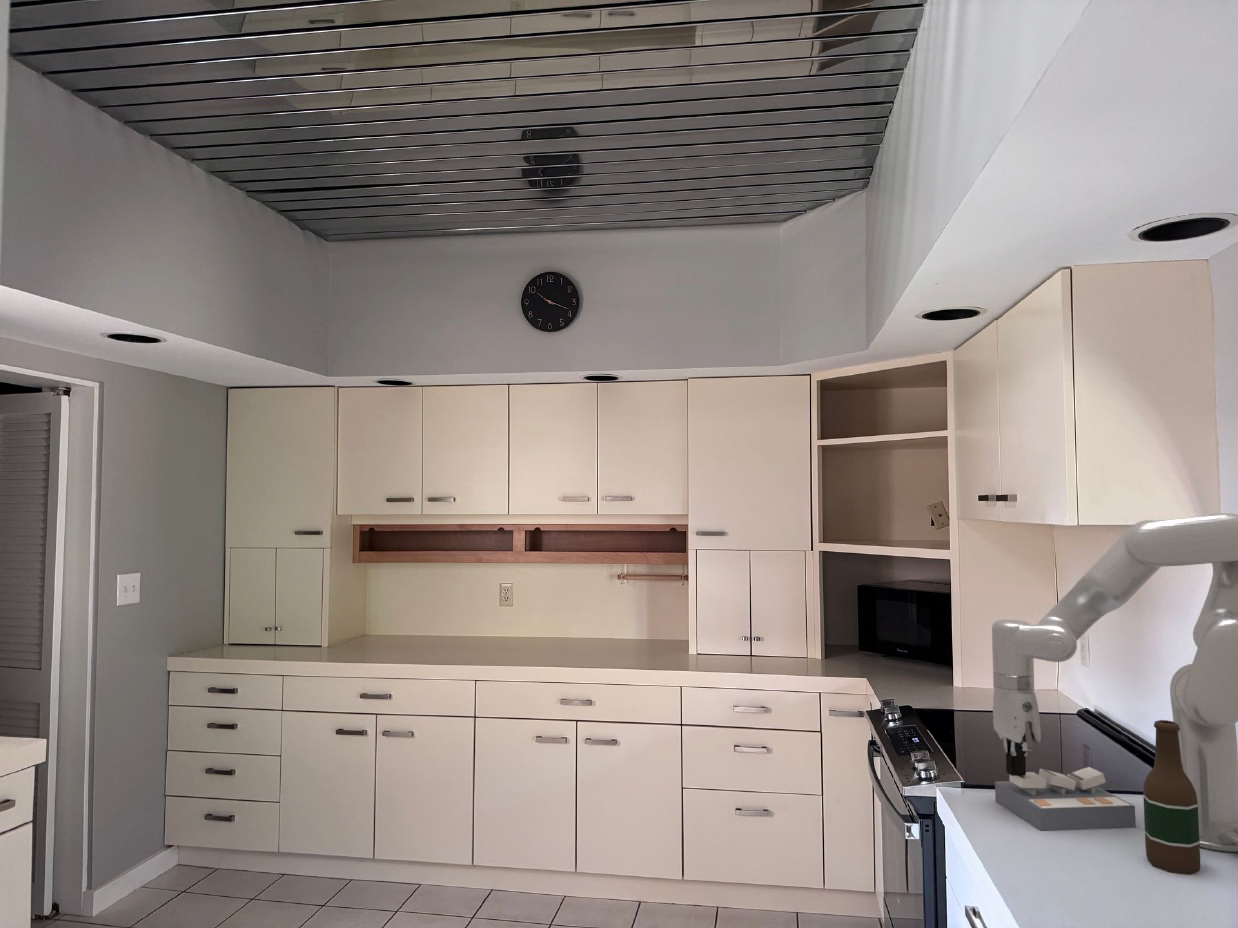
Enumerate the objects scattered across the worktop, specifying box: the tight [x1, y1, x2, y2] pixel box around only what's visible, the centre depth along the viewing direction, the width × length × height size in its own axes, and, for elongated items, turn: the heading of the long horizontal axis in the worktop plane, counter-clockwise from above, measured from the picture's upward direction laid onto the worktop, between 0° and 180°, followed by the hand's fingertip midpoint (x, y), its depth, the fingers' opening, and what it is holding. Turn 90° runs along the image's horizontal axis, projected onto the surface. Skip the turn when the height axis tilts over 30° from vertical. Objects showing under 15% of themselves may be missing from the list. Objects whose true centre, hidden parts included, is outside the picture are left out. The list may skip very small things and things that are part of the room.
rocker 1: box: [1008, 771, 1046, 788], centre depth 165 cm, size 4×5×2 cm
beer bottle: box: [1142, 719, 1201, 875], centre depth 140 cm, size 8×8×24 cm
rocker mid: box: [1038, 768, 1076, 790], centre depth 165 cm, size 4×5×2 cm
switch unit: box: [994, 780, 1137, 831], centre depth 164 cm, size 16×19×5 cm
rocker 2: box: [1066, 766, 1107, 790], centre depth 166 cm, size 4×5×2 cm
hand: (1016, 773), depth 165 cm, fingers closed
